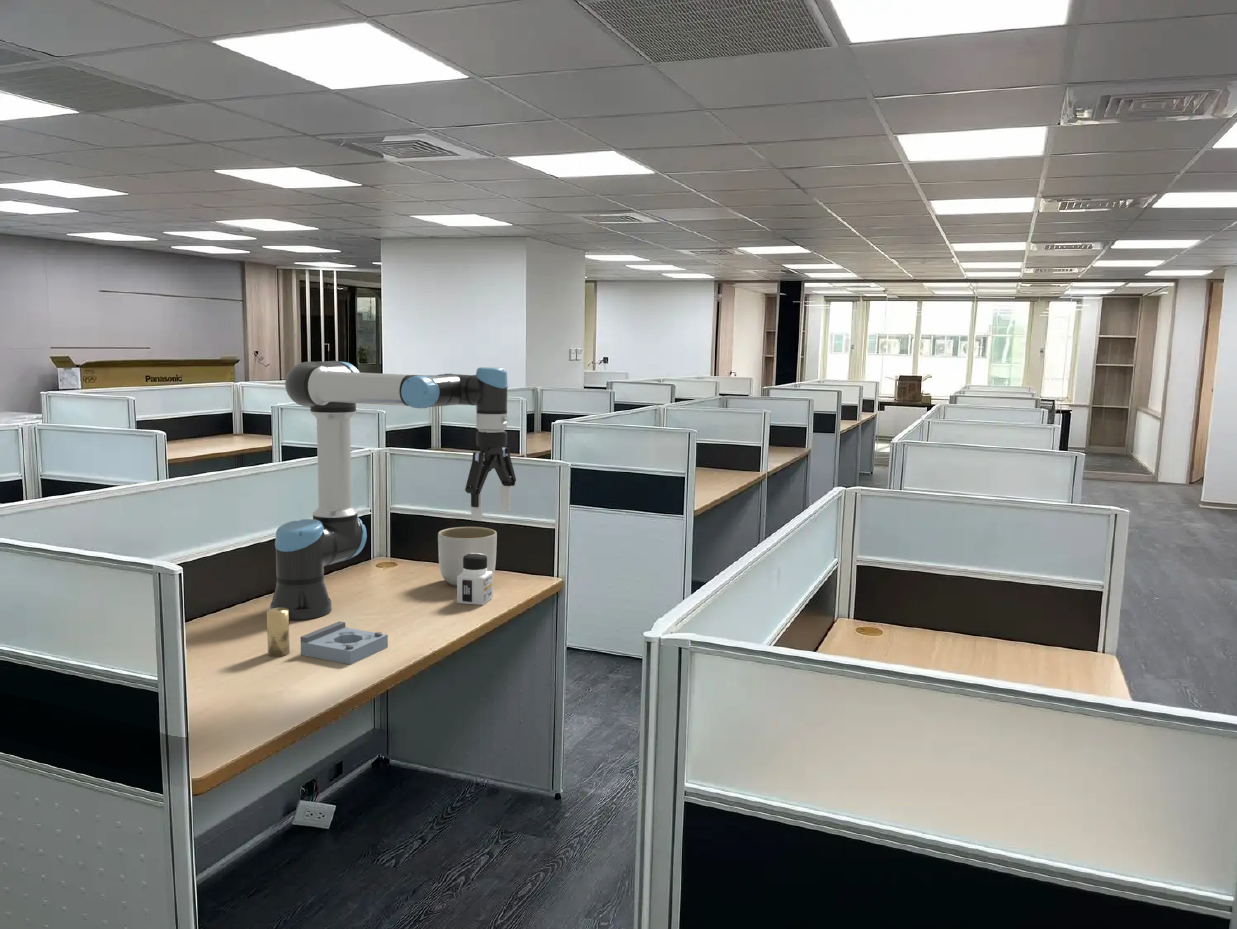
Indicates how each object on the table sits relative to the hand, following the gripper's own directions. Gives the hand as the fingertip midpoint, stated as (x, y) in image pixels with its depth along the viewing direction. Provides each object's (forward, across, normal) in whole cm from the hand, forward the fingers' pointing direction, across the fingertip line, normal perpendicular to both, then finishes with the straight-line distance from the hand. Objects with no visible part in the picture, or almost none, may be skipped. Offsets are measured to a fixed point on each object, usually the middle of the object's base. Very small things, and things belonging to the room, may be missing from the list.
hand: (491, 515), depth 230 cm
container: (+28, +17, +15) cm, 36 cm away
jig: (+28, -32, +19) cm, 47 cm away
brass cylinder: (+28, -40, +31) cm, 58 cm away
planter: (+28, +32, +27) cm, 50 cm away
